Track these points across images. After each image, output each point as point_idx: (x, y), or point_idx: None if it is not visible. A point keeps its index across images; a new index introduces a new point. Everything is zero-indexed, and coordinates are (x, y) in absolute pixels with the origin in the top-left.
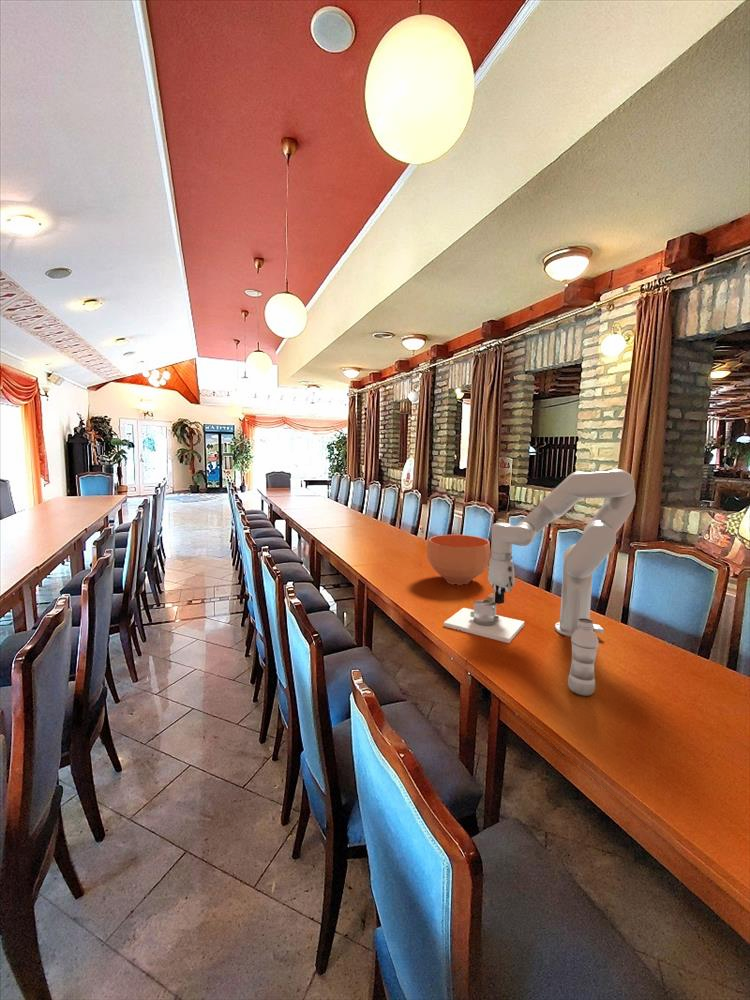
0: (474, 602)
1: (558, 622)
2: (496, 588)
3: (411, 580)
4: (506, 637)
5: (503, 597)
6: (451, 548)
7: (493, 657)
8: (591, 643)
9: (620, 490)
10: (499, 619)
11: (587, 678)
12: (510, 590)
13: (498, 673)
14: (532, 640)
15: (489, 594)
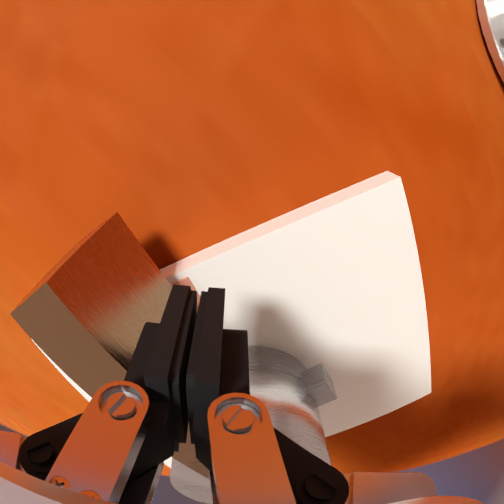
0: (201, 500)
1: (489, 11)
2: (150, 490)
3: None
4: (418, 394)
5: (246, 367)
6: None
7: (418, 441)
8: None
9: None
10: (270, 303)
11: None
12: (426, 489)
13: (447, 449)
14: (482, 289)
15: (57, 363)
